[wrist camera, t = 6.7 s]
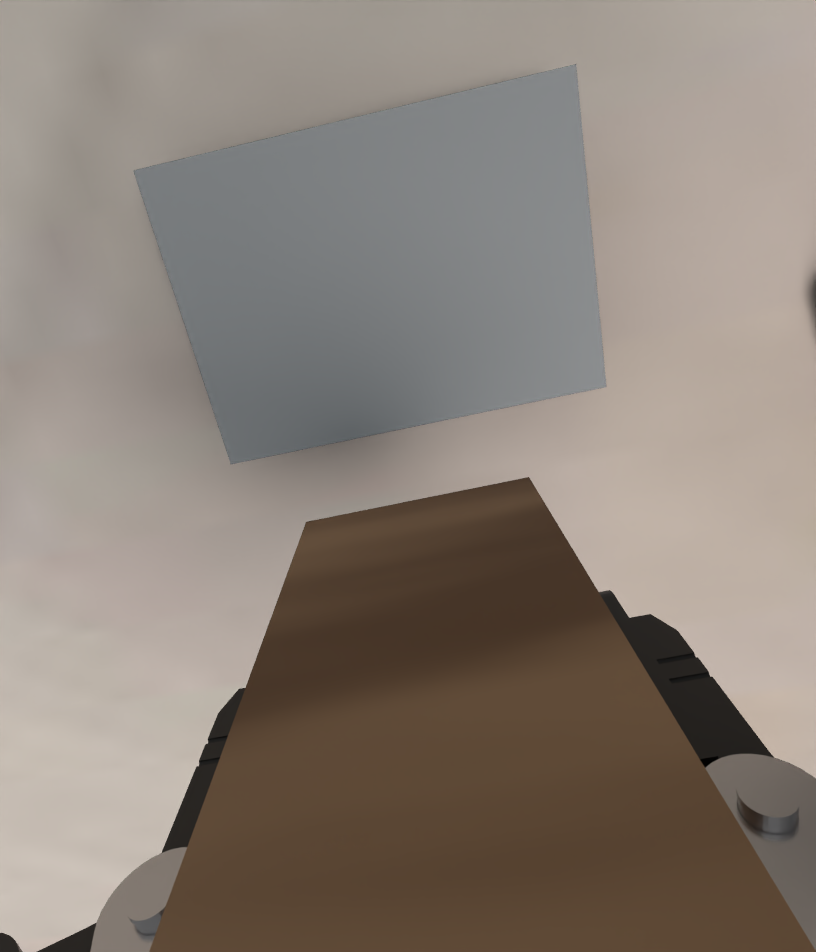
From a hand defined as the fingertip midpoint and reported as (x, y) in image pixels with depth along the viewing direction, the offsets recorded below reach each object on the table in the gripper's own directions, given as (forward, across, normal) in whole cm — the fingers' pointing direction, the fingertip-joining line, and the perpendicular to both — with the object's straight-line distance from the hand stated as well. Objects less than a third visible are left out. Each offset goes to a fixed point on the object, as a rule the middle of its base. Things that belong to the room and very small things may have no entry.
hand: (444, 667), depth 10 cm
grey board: (+15, 0, -6) cm, 16 cm away
